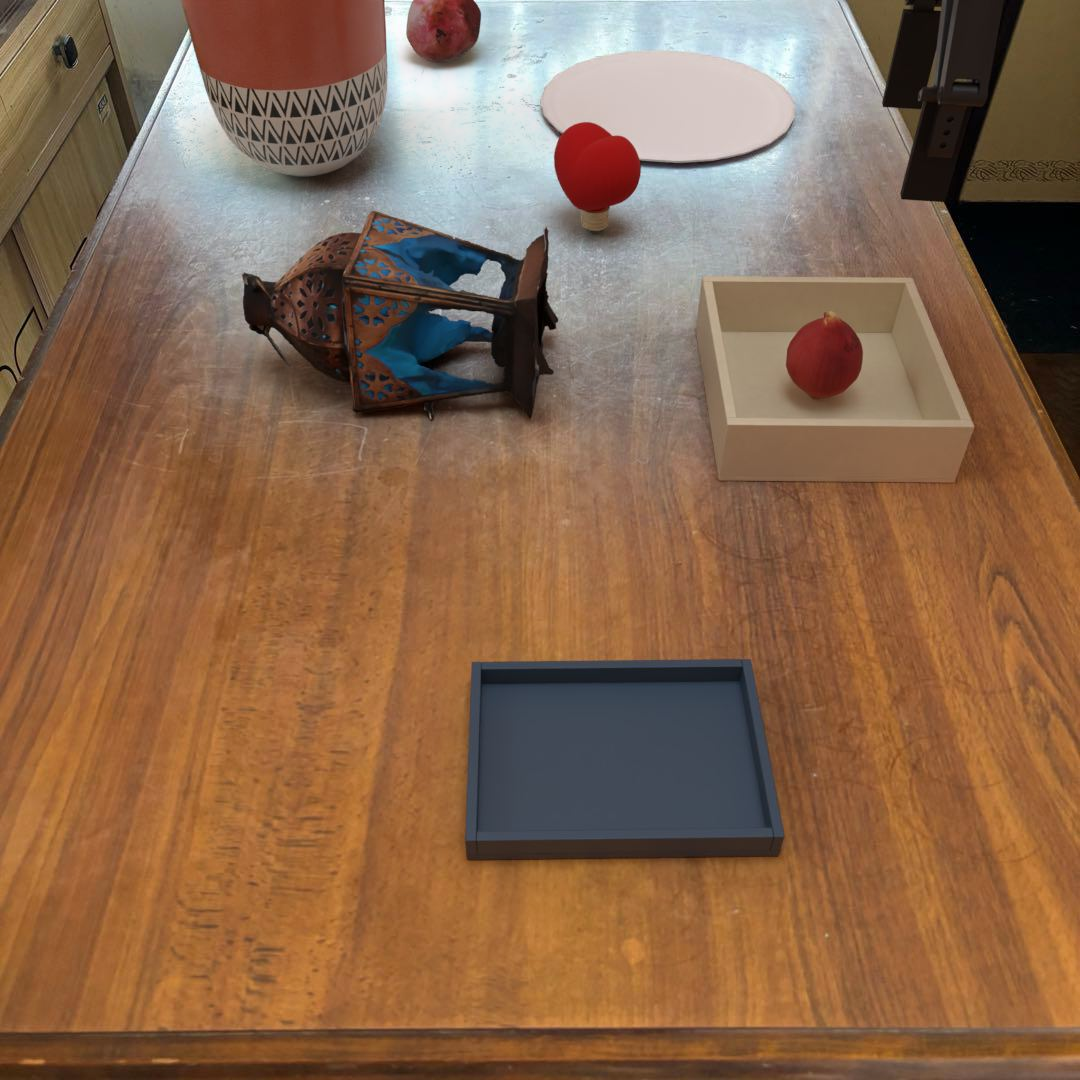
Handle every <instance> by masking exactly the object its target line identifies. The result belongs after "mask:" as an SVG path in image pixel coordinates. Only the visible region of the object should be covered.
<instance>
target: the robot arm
mask: <svg viewBox="0 0 1080 1080" xmlns="http://www.w3.org/2000/svg"><path fill="white" fill-rule="evenodd" d="M1004 2H1005V0H904V6H908V7H909V8H902V12H901V17H900V22H899V26H898V30H897V35H896V40H895V44H894V48H893V53H892V57H891V61H890V65H889V70H888V74H887V79H886V83H885V87H884V92H883V96H882V100H881V105H882V108H890V109H891V108H892V109H893V108H894V109H910V110H911V109H912V110H920V114H919V118H918V122H917V126H916V129H915V133H914V137H913V141H912V146H911V150H910V153H909V154H910V155H909V157H908V161H907V165H906V170H905V173H904V177H903V181H902V184H901V190H900V193H899V194H900V195H899V196H900V200H903V201H905V200H907V201H919V202H920V201H921V202H935V203H946V200H947V196H948V193H949V191H950V190H949V189H950V187H951V183H952V179H953V177H954V173H955V169H956V165H957V162H958V158H959V154H960V152H961V148H962V145H963V144H962V143H963V140H964V137H965V134H966V130H967V127H968V123H969V120H970V116H971V113H972V109H973V107H981V108H982V107H983V106H985V104H986V103H987V100H988V97H989V86H990V82H991V81H990V79H991V74H992V70H993V63H994V58H995V51H996V47H997V43H998V42H997V41H998V36H999V29H1000V25H1001V18H1002V13H1003V9H1004ZM935 8H940V10H935ZM933 65H934V69H933V74H932V75H933V77H932V85H931V86H928V85H929V81H930V76H931V73H932V68H933ZM963 80H966V81H963Z"/></svg>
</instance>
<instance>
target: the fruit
mask: <svg viewBox="0 0 1080 1080" xmlns="http://www.w3.org/2000/svg"><path fill="white" fill-rule="evenodd" d="M481 23H482V12H481V9H480V7H479V5H478V3H476V1H475V0H412V2H411V3H410V6H409V8H408V13H407V19H406V31H405V35H406V38H407V41H408V43H409V45H410V46H411V48H412V50H413V51H414V52H415V53H416V55H418V56H419V57H420V58H423V59H425V60H429V61H433V62H438V63H443V62H451V61H454V60H456V59H457V58H459V57H461V56H462V55H463V54H465V53H468V52H469V50H471V49H472V48H473V47H475V45H476V43H477V42H478V40H479V38H480V37H479V36H480V31H481Z"/></svg>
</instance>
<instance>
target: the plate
mask: <svg viewBox="0 0 1080 1080" xmlns="http://www.w3.org/2000/svg"><path fill="white" fill-rule="evenodd" d="M542 90H543V91H542V94H541V97H540V101H539V102H540V107H541V110H542V113H543V116H544V118H545V120H546V121H547V122H548V123H549V124H550V125H551V126H552V127H553V128H554V130H556V131H557V132H558V133H559V134H561V135H562V134H563V133H564V132H565V130H566V129H568V128H569V127H571V126H573V125H574V124H578V123H582V122H591V123H595V124H597V125H599V126H601V127H602V128H604V129H605V130H606V131H608V132H609V133H610V134H611V135H612V136H623V137H625V138H626V139H628V140H629V141H630V142H631V143H632V145H633V146H634V148H635V149H636V151H637V154H638V157H639V160H640V162H641V161H642V162H653V163H654V162H655V163H657V162H658V163H672V164H673V163H674V164H684V163H699V162H701V163H702V162H703V163H704V162H714V161H718V160H725V159H729V158H734V157H739V156H744V155H747V154H750V153H751V152H754V151H756V150H759V149H761V148H764V147H766V146H770V145H771V144H773V143H774V142H775V141H776V140H778V139H779V138H781V137H782V136H783V135H784V134H786V133H787V132H788V130H789V129H790V127H791V125H792V123H793V122H794V120H795V118H796V110H795V109H796V108H795V101H794V99H793V98H792V96H791V95H790V93H789V92H788V90H787V89H786V87H785V86H783V85H782V84H781V83H779V82H778V81H777V80H775V79H774V78H773V77H771V75H769V74H767V73H765V72H762V71H760V70H759V69H756V68H754V67H752V66H750V65H747V64H745V63H742V62H739V61H735V60H731V59H728V58H724V57H721V56H717V55H711V54H705V53H699V52H693V51H682V50H663V49H662V50H661V49H653V50H652V49H651V50H632V51H623V52H617V53H611V54H606V55H600V56H596V57H593V58H590V59H588V60H584V61H582V62H577V63H575V64H573V65H572V66H570V67H568V68H566V69H565V70H562V71H560V72H558V73H556V75H554V77H553V78H552V79H551V80H550V81H549V82H548V83H547V84H546V85H545V86H544V87H543V89H542Z"/></svg>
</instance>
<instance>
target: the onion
mask: <svg viewBox="0 0 1080 1080" xmlns="http://www.w3.org/2000/svg"><path fill="white" fill-rule="evenodd" d="M862 361H863V349H862V344H861V342H860V339H859V338H858V336H857V334H856V333H855V332H854V330H853V329H852V328H851V327H850V326H849V325H848V324H847V323H846V322H844V321H842V320H841V319H840V318H839V317H838V316H837V314H836V313H835V312H832V311H827V312H824V318H819V319H816V320H814V321H812V322H810V323H808V324H806V325H804V326H803V327H802V328H801V329H800V330H799V331H798V332H797V333H796V335H795V336H794V337H793V339H792V340H791V341H790V343H789V346H788V348H787V358H786V368H787V371H788V374H789V376H790V377H791V379H792V381H793V382H794V383H795V384H796V385H797V386H798V387H799V388H800V389H802V390H803V391H804V392H805V393H806V394H807V395H808V396H809V397H811V398H813V399H820V398H830V397H833V396H836V395H838V394H840V393H842V392H844V391H845V390H846V389H847V388H848V387H849V386H850V385H851V384H852V383H853V382H854V381H855V380H856V379H857V378H858V376H859V373H860V371H861V367H862Z"/></svg>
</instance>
